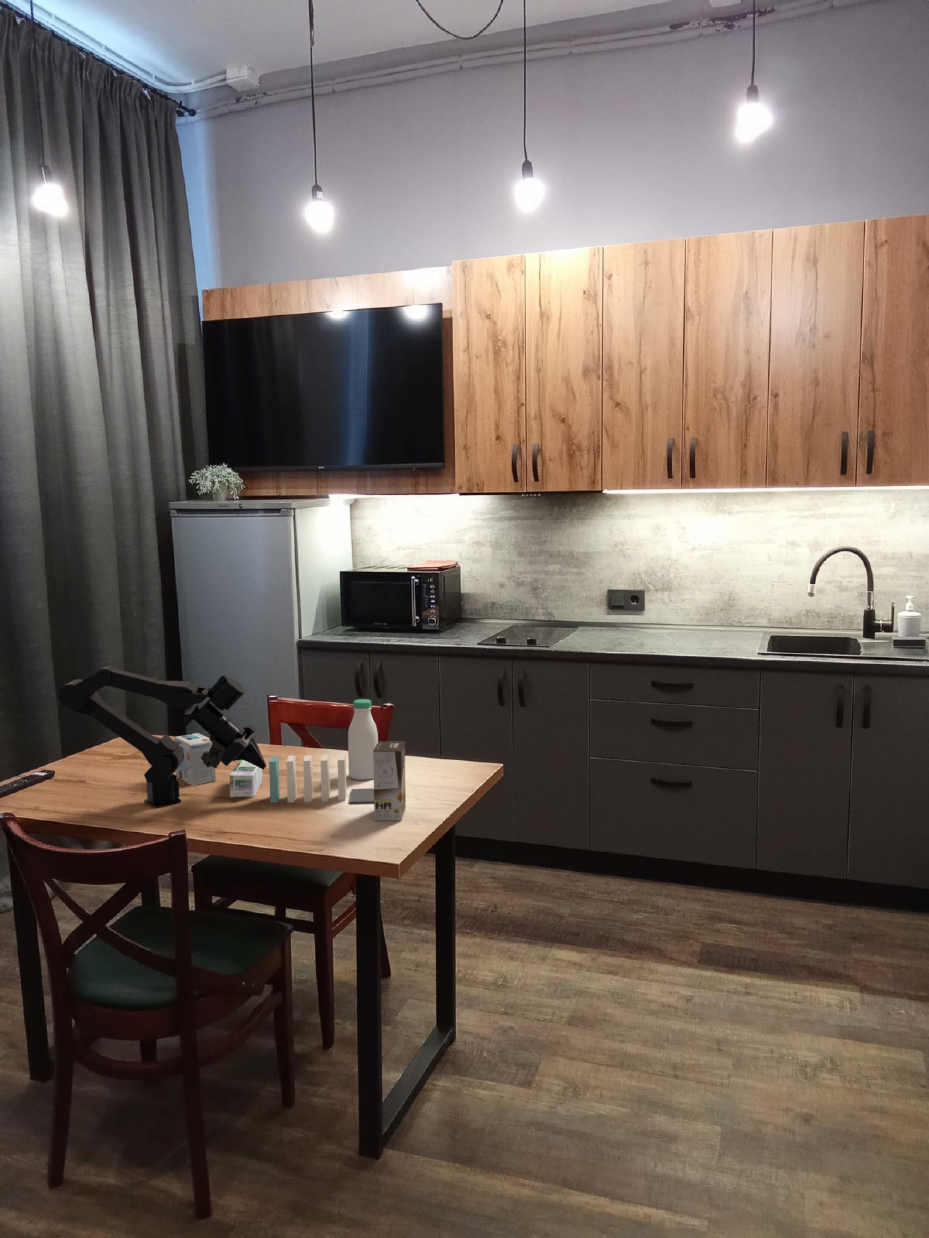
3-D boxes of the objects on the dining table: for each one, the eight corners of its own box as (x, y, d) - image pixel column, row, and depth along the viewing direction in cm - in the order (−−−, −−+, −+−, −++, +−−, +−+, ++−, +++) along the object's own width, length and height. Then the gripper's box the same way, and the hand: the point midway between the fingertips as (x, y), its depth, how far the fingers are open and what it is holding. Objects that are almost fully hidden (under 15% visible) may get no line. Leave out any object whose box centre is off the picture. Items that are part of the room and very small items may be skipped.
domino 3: (304, 801, 226) (303, 760, 224) (306, 795, 231) (305, 755, 229) (311, 801, 226) (310, 760, 224) (313, 795, 231) (312, 755, 229)
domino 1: (270, 802, 225) (268, 761, 224) (273, 796, 230) (271, 756, 229) (277, 802, 225) (275, 761, 224) (279, 795, 230) (278, 755, 229)
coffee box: (402, 821, 212) (401, 751, 210) (373, 821, 212) (372, 751, 210) (406, 807, 221) (405, 740, 219) (378, 807, 221) (377, 740, 219)
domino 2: (287, 802, 225) (286, 761, 224) (290, 795, 230) (288, 755, 229) (294, 802, 225) (293, 761, 224) (296, 795, 230) (295, 755, 229)
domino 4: (321, 801, 226) (320, 760, 225) (323, 794, 231) (322, 754, 229) (328, 801, 226) (327, 760, 225) (330, 794, 231) (328, 754, 230)
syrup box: (262, 758, 243) (253, 773, 228) (262, 780, 243) (253, 797, 229) (239, 758, 242) (228, 774, 228) (240, 781, 243) (229, 798, 229)
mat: (349, 803, 224) (349, 801, 224) (351, 790, 234) (351, 788, 234) (392, 802, 224) (392, 800, 224) (392, 789, 234) (392, 787, 234)
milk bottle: (384, 777, 245) (382, 701, 242) (357, 782, 241) (355, 705, 238) (369, 770, 251) (368, 696, 249) (343, 775, 247) (341, 699, 244)
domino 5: (338, 800, 226) (337, 760, 225) (339, 794, 231) (338, 754, 230) (345, 800, 226) (344, 759, 225) (346, 794, 231) (345, 754, 230)
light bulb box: (175, 776, 247) (173, 736, 246) (200, 772, 251) (198, 732, 250) (191, 786, 239) (189, 744, 237) (217, 781, 243) (215, 740, 241)
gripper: (200, 738, 234) (248, 780, 236) (183, 758, 216) (235, 803, 218) (231, 705, 234) (278, 748, 236) (217, 723, 215) (268, 769, 217)
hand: (265, 767), depth 227 cm, fingers closed
